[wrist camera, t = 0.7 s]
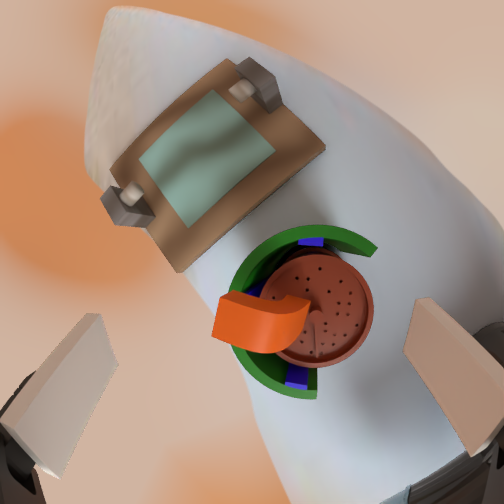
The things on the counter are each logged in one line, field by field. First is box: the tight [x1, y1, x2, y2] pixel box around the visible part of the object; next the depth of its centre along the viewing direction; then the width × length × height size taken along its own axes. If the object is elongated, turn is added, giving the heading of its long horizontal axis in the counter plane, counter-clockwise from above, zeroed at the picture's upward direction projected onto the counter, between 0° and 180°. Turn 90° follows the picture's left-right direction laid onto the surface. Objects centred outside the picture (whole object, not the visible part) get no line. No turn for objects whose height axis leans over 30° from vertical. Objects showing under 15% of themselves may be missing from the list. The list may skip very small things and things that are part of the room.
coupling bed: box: [100, 57, 326, 273], centre depth 29 cm, size 18×22×8 cm
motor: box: [212, 225, 378, 399], centre depth 20 cm, size 10×9×20 cm
